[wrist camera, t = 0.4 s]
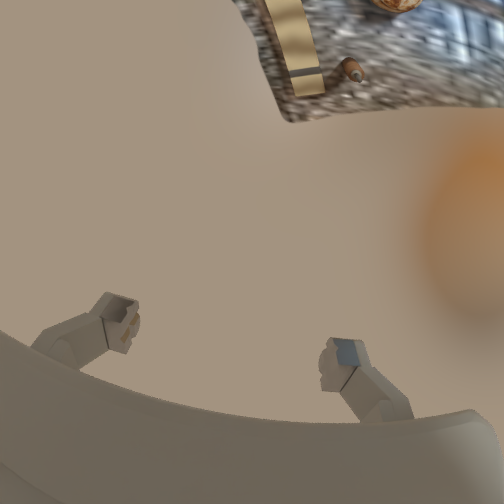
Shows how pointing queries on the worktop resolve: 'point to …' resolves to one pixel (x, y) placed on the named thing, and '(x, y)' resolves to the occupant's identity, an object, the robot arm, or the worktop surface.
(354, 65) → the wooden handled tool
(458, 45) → the worktop surface
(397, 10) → the trinket box
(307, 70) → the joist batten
